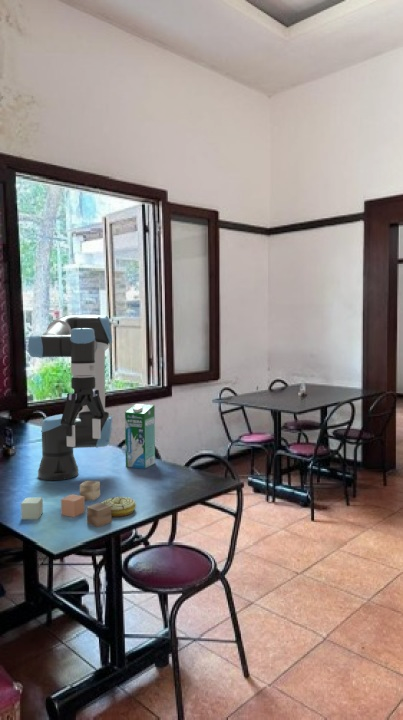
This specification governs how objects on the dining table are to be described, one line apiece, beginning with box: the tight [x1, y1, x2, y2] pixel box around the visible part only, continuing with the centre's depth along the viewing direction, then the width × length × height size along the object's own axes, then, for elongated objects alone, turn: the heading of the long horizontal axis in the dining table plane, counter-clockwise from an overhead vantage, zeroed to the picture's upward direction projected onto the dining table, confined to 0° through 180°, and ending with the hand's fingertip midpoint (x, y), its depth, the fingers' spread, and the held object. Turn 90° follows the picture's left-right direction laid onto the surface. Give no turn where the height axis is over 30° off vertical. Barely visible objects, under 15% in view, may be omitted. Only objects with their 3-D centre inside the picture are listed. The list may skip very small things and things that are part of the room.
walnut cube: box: [86, 502, 112, 528], centre depth 152 cm, size 5×5×5 cm
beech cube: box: [79, 480, 101, 501], centre depth 174 cm, size 5×5×5 cm
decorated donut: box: [101, 496, 137, 518], centre depth 161 cm, size 10×11×4 cm
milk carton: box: [124, 403, 156, 470], centre depth 212 cm, size 9×9×25 cm
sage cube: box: [20, 497, 44, 520], centre depth 157 cm, size 5×5×5 cm
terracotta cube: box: [60, 494, 86, 518], centre depth 160 cm, size 5×5×5 cm
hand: (84, 442), depth 165 cm, fingers open, 13 cm apart
